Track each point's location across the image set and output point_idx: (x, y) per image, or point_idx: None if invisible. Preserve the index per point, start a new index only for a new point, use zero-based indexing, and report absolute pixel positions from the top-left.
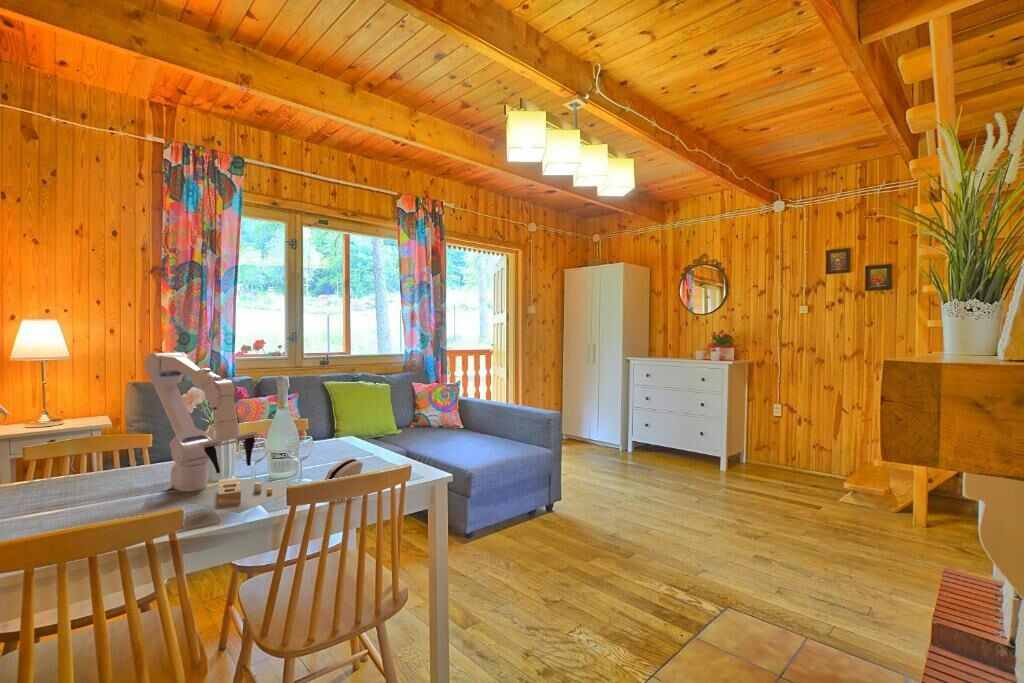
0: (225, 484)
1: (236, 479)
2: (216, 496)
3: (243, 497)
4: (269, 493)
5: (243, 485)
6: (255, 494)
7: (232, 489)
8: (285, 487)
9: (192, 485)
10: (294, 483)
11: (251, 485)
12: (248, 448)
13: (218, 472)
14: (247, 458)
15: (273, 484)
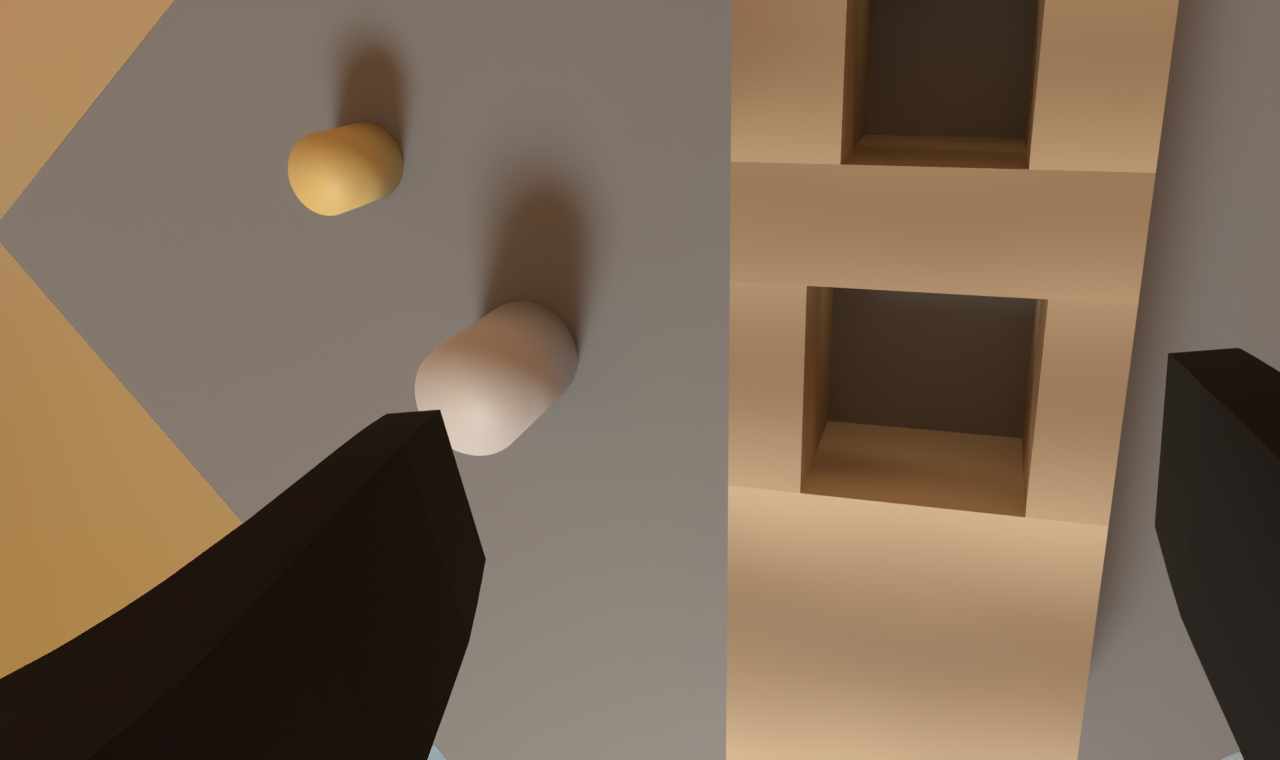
0: (985, 515)
1: (785, 715)
2: (1130, 422)
3: (725, 160)
4: (355, 126)
5: (711, 749)
6: (555, 240)
7: (880, 165)
8: (189, 374)
9: None
10: None
11: (609, 692)
12: (90, 701)
13: (1215, 357)
14: (349, 504)
15: None
